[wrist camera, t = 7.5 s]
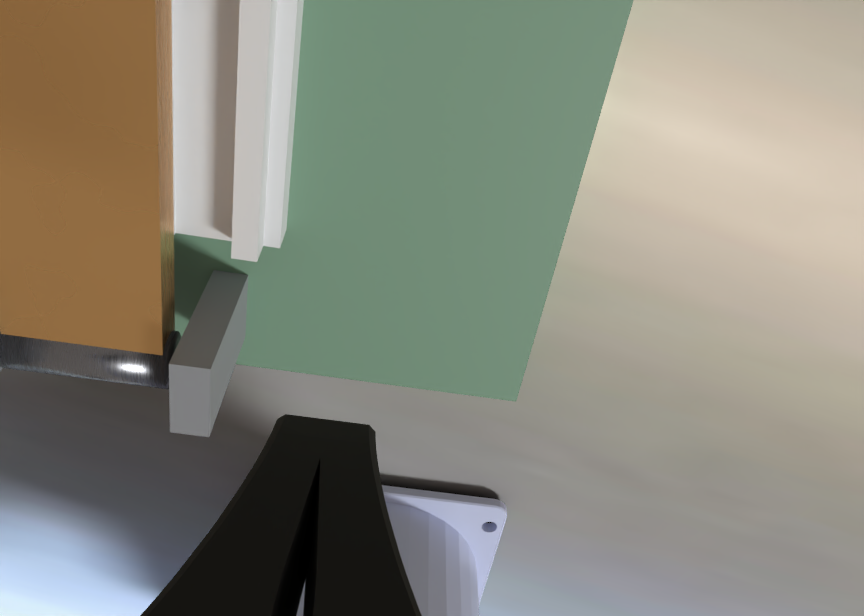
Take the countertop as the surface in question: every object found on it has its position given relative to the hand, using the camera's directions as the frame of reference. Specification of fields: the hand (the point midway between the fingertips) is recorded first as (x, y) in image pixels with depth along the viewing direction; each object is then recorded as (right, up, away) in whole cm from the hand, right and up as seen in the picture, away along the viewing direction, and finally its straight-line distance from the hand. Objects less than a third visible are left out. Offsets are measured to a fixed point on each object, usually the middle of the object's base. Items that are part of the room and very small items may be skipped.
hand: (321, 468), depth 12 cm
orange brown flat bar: (-5, +7, +4) cm, 10 cm away
